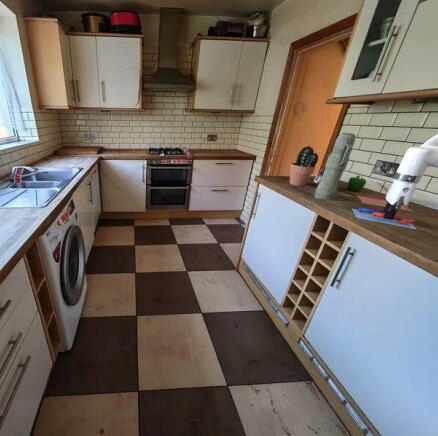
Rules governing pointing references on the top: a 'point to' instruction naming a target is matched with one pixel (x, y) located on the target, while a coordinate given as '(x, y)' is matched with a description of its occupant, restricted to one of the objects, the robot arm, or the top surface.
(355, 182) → the bell pepper
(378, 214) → the red spoon
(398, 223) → the blue mat
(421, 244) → the top surface
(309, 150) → the potted plant
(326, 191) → the stone statue
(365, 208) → the blue spoon
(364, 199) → the red mat
